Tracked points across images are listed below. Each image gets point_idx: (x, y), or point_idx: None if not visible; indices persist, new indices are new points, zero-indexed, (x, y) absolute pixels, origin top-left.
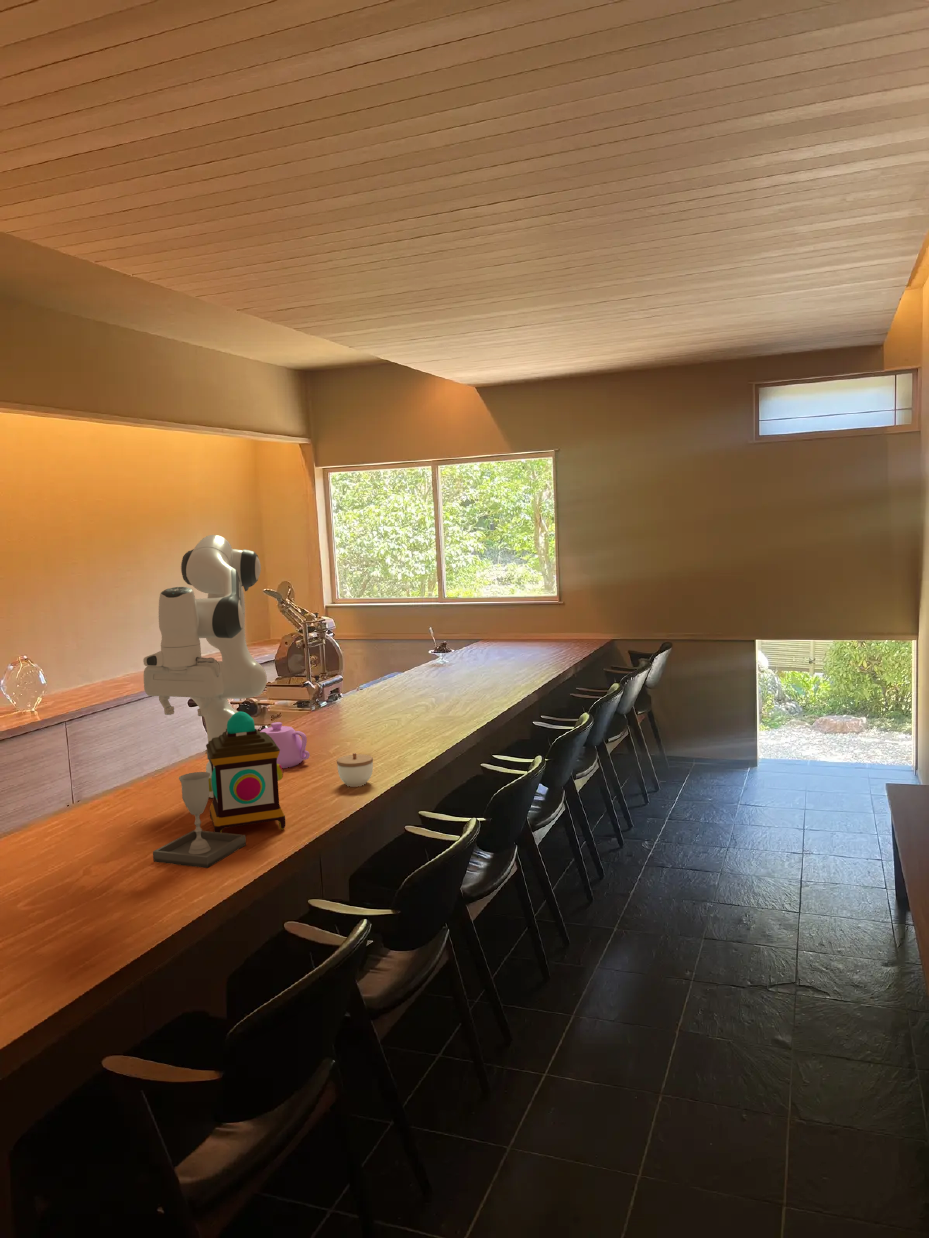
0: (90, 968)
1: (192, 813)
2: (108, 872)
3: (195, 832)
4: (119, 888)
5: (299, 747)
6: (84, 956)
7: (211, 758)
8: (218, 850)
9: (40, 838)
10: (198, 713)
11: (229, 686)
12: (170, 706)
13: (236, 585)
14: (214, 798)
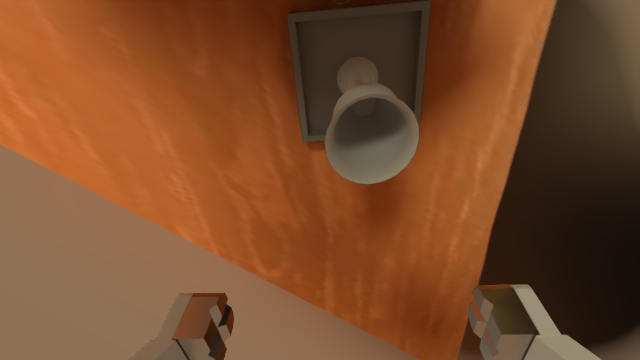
0: (441, 324)
1: (362, 119)
2: (272, 184)
3: (297, 21)
4: (334, 216)
5: None
6: (421, 314)
7: (338, 2)
8: (421, 101)
9: (13, 112)
10: (481, 334)
11: None
12: (181, 344)
13: None
14: None
